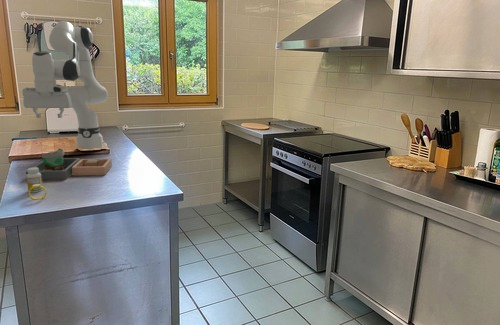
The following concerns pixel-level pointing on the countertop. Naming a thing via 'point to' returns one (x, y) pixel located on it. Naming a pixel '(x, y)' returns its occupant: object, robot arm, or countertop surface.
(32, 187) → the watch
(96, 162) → the walnut block
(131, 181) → the countertop surface
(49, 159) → the food container
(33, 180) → the supplement bottle
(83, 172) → the terracotta bin
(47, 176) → the charcoal bin
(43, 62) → the robot arm
